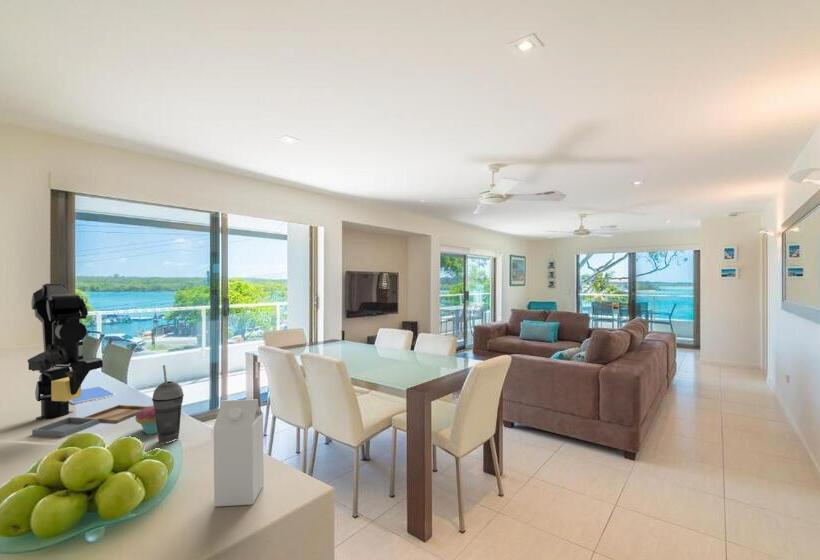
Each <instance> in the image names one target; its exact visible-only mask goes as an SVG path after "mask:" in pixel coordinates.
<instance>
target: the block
mask: <svg viewBox="0 0 820 560" xmlns="http://www.w3.org/2000/svg"><path fill="white" fill-rule="evenodd" d="M81 390H82V385H81V386H80V388H79V389H78V391H77V393H76V394H74V395H71V391H70V381H69V377H66V378H62V379H58V380H54V381H51V398H52V401H68V400H72V399H75V398H78V397H81Z"/></svg>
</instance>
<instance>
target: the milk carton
mask: <svg viewBox="0 0 820 560" xmlns="http://www.w3.org/2000/svg"><path fill="white" fill-rule="evenodd" d="M219 403H220V405H219V409H218V412H217V413H218V414H217V416H216V419H215V422H214V424H213V492H214V494H213V495H214V497H213V498H214V501H213V502H214V504H213V505H214V507H229V506H233V507H234V506H248V505H249V506H250V505H254V503H255V501H256V499H257V497H258V496H259V494H260V492H261V490H262V489H263V487H264V483H265V482H264V481H265V480H264V479H265V477H264V473H265V472H264V413H263V411H262V410H261V408H260V405H259V399H257V398H255V399H229V400H227V399H226V400H225V399H224V400H220V402H219Z"/></svg>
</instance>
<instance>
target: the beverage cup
mask: <svg viewBox="0 0 820 560" xmlns="http://www.w3.org/2000/svg"><path fill="white" fill-rule="evenodd" d="M162 369H163V379H164V382H162V383H161V384H159V385H158V386H157V387H155V389H154V390H153V394H152V398H151V401H152V404H153V405H154V408H155V415H156V424H157V433H156V434H157V437H158V443H159V444H161V445H163V444H162V443H166V442H169V441H172V440H174V439H178V440H179V436H180V428H181V415H182V406H183V405H182V403H183V402H184V391H183V388H182V386H181V385H180V384H179V383H177V382H175V381H170V380H169V381H168V377H167V369H166V365H164V364H163V365H162ZM153 405H152V406H153Z"/></svg>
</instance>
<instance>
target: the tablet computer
mask: <svg viewBox="0 0 820 560" xmlns="http://www.w3.org/2000/svg"><path fill="white" fill-rule="evenodd" d="M109 396H111V397H114V396H116V393H114V392H111V391H109V390H107V389H105V388H104V387H101V386H94V387H89V388H88V387H87V388H83V389H81V397H78V398H75V399H72V400H68V401H69V403H70V404H72V405H80V404H84V403H83V402H85V403H88V402H87V401H90V402H93V401H92V400H95V401H97V400H96V399H99V400H101V399H100V398H104V399H106V398H105V397H108V398H110V397H109ZM79 403H80V404H79Z"/></svg>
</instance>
